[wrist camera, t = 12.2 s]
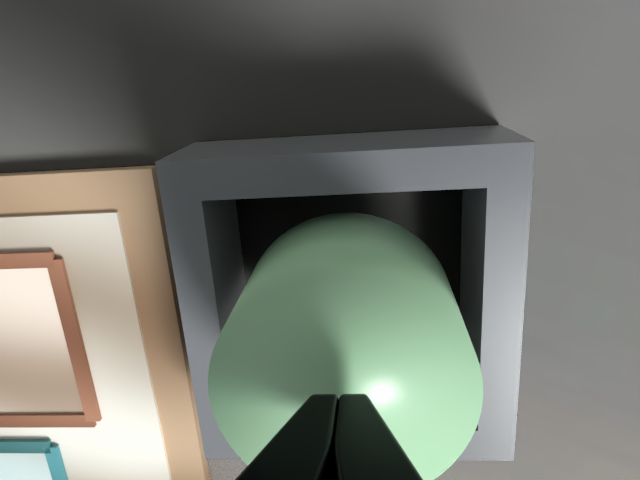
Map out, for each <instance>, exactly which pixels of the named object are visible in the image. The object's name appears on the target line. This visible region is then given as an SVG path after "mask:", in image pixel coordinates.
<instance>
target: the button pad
mask: <svg viewBox="0 0 640 480" xmlns="http://www.w3.org/2000/svg"><path fill="white" fill-rule="evenodd" d="M534 153H535V141H533V140H530V139H528V138H526V137H524V136H522V135H520V134H518V133H516V132H514V131H512V130H510V129H508V128H506V127H504V126H502V125H491V126H474V127H456V128H438V129H420V130H402V131H384V132H367V133H349V134H331V135H313V136H295V137H278V138H260V139H242V140H224V141H206V142H194V143H192V144H190V145H188V146H186V147H184V148H182V149H180V150H178V151H176V152H174V153H172V154H170V155H168V156H166V157H164V158H162V159H160V160H158V161H155V166H156V172H157V178H158V184H159V190H160V196H161V202H162V208H163V214H164V219H165V225H166V231H167V237H168V243H169V249H170V255H171V261H172V267H173V272H174V278H175V284H176V290H177V296H178V302H179V308H180V314H181V320H182V325H183V331H184V337H185V343H186V349H187V355H188V361H189V367H190V373H191V379H192V384H193V390H194V396H195V402H196V408H197V414H198V420H199V426H200V432H201V437H202V443H203V449H204V455H205V459H241V458H240V457H239V456H238V455H237V454H236V453H235V452H234V450H233V449H232V448H231V446H230V445H229V444H228V442H227V441H226V440H225V438H224V436H223V434H222V433H221V431H220V429H219V427H218V425H217V422H216V420H215V417H214V415H213V412H212V408H211V404H210V399H209V391H208V372H209V364H210V360H211V355H212V352H213V349H214V347H215V344H216V341H217V339H218V337H219V335H220V333H221V331H222V329H223V327H224V325H225V324H226V322H227V320H228V318H229V316H230V314H231V312H232V310H233V308H234V306H235V304H236V303H237V301H238V299H239V297H240V295H241V293H242V291H243V289H244V287H245V285H246V282H245V274H244V265H243V257H242V249H241V241H240V233H239V225H238V216H237V208H236V200H235V199H252V198H274V197H296V196H319V195H341V194H363V193H386V192H408V191H431V190H453V189H462V230H461V274H460V313H461V315H462V318H463V321H464V323H465V326H466V329H467V331H468V334H469V337H470V339H471V342H472V345H473V347H474V350H475V353H476V355H477V358H478V361H479V364H480V368H481V373H482V378H483V403H482V411H481V415H480V418H479V422H478V425H477V428H476V430H475V432H474V434H473V436H472V439H471V440H470V442H469V444H468V445H467V447H466V448H465V450H464V451H463V453H462V454H461V455H460V456H459V457H458V459H457V460H473V461H514V451H515V437H516V422H517V407H518V392H519V377H520V362H521V347H522V332H523V317H524V302H525V287H526V273H527V258H528V243H529V228H530V213H531V198H532V183H533V168H534Z"/></svg>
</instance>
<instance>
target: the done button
mask: <svg viewBox="0 0 640 480" xmlns="http://www.w3.org/2000/svg"><path fill="white" fill-rule="evenodd" d="M208 391H209V399H210V404H211V408H212V412H213V415H214V417H215V420H216V422H217V425H218V427H219V429H220V431H221V433H222V434H223V436H224V438H225V440H226V441H227V442H228V444H229V445H230V446H231V448H232V449H233V450H234V452H235V453H236V454H237V455H238V456H239V457H240V458H241V459H242V460H243V461H244V462H245V463H246V464H247V465H249V464H250V463H251V462H252V460H253V459H254V458H255V457H256V456H257V455H258V454H259V453H260V452H261V450H262V449H263V448H264V447H265V446H266V445H267V444H268V443H269V441H270V440H271V439H272V438H273V437H274V436H275V435H276V434H277V433H278V431H279V430H280V429H281V428H282V427H283V426H284V425H285V424H286V422H287V421H288V420H289V419H290V418H291V417H292V416H293V415H294V414H295V412H296V411H297V410H298V409H299V408H300V407H301V406H302V405H303V403H304V402H305V401H306V400H307V399H308V398H309V397H310V396H311V395H313V394H336V395H337V396H338V397H340V396H341V395H342V394H366V395H367V396H368V397H369V398H370V400H371V401H372V403H373V405H374V406H375V408H376V409H377V411H378V412H379V414H380V415H381V417H382V418H383V420H384V421H385V423H386V424H387V426H388V427H389V429H390V430H391V432H392V433H393V435H394V436H395V438H396V439H397V441H398V442H399V444H400V445H401V447H402V449H403V450H404V452H405V453H406V455H407V456H408V458H409V459H410V461H411V462H412V464H413V465H414V467H415V468H416V470H417V471H418V473H419V474H420V476H421V477H422V479H423V480H434V479H435V478H437V477H438V476H440V475H441V474H442V473H443V472H444V471H445V470H447V469H448V468H449V467H450V466H451V465H452V464H453V463H454V462H455V461H456V460H457V459H458V457H459V456H460V455H461V454H462V453H463V451H464V450H465V448H466V447H467V445H468V444H469V442H470V440H471V439H472V436H473V434H474V432H475V430H476V428H477V425H478V422H479V418H480V415H481V411H482V403H483V378H482V373H481V368H480V364H479V361H478V358H477V355H476V353H475V350H474V347H473V345H472V342H471V339H470V337H469V334H468V331H467V329H466V326H465V323H464V321H463V318H462V315H461V313H460V310H459V307H458V305H457V302H456V300H455V297H454V294H453V292H452V289H451V286H450V284H449V281H448V278H447V276H446V273H445V271H444V269H443V267H442V265H441V263H440V262H439V260H438V259H437V257H436V256H435V255H434V253H433V252H432V250H431V249H430V248H429V247H428V246H427V245H426V244H425V243H424V242H423V241H422V240H421V239H419V238H418V237H417V236H416V235H414V234H413V233H412V232H410V231H409V230H407V229H405V228H404V227H402V226H400V225H398V224H396V223H394V222H391V221H389V220H387V219H384V218H380V217H377V216H373V215H368V214H361V213H335V214H327V215H323V216H319V217H315V218H312V219H309V220H307V221H304V222H302V223H300V224H298V225H296V226H294V227H292V228H290V229H289V230H287V231H286V232H285V233H283V234H282V235H281V236H279V237H278V238H277V239H276V240H275V241H274V242H273V243H272V244H271V245H270V246H269V247H268V248H267V250H266V251H265V252H264V253H263V255H262V256H261V258H260V260H259V261H258V263H257V265H256V266H255V268H254V270H253V272H252V274H251V276H250V278H249V280H248V282H247V284H246V285H245V287H244V289H243V291H242V293H241V295H240V297H239V299H238V301H237V303H236V304H235V306H234V308H233V310H232V312H231V314H230V316H229V318H228V320H227V322H226V324H225V325H224V327H223V329H222V331H221V333H220V335H219V337H218V339H217V341H216V344H215V347H214V349H213V352H212V355H211V360H210V364H209V372H208Z"/></svg>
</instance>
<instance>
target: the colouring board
mask: <svg viewBox="0 0 640 480" xmlns="http://www.w3.org/2000/svg"><path fill="white" fill-rule="evenodd" d="M0 480H211V479H210V473H209V468H208V462H207V459H205V455H204V449H203V443H202V437H201V432H200V426H199V420H198V414H197V408H196V402H195V396H194V390H193V384H192V379H191V373H190V367H189V361H188V355H187V349H186V343H185V337H184V331H183V325H182V320H181V314H180V308H179V302H178V296H177V290H176V284H175V278H174V272H173V267H172V261H171V255H170V249H169V243H168V237H167V231H166V225H165V219H164V214H163V208H162V202H161V196H160V190H159V184H158V178H157V172H156V166H155V165H153V166H134V167H115V168H96V169H77V170H57V171H38V172H19V173H0Z"/></svg>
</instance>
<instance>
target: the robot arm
mask: <svg viewBox="0 0 640 480" xmlns="http://www.w3.org/2000/svg"><path fill="white" fill-rule="evenodd" d="M235 480H423V479H422V477H421V476H420V474H419V473H418V471H417V470H416V468H415V467H414V465H413V464H412V462H411V461H410V459H409V458H408V456H407V455H406V453H405V452H404V450H403V449H402V447H401V445H400V444H399V442H398V441H397V439H396V438H395V436H394V435H393V433H392V432H391V430H390V429H389V427H388V426H387V424H386V423H385V421H384V420H383V418H382V417H381V415H380V414H379V412H378V411H377V409H376V408H375V406H374V405H373V403H372V401H371V400H370V398H369V397H368V396H367V395H366V394H342V395H341V396H340V397H338V396H337V395H336V394H313V395H311V396H310V397H309V398H308V399H307V400H306V401H305V402H304V403H303V405H302V406H301V407H300V408H299V409H298V410H297V411H296V412H295V414H294V415H293V416H292V417H291V418H290V419H289V420H288V421H287V422H286V424H285V425H284V426H283V427H282V428H281V429H280V430H279V431H278V433H277V434H276V435H275V436H274V437H273V438H272V439H271V440H270V441H269V443H268V444H267V445H266V446H265V447H264V448H263V449H262V450H261V452H260V453H259V454H258V455H257V456H256V457H255V458H254V459H253V460H252V462H251V463H250V464H249V465H248V466H247V467H246V468H245V469H244V470H243V472H242V473H241V474H240V475H239V476H238V477H237V478H236V479H235Z"/></svg>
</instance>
